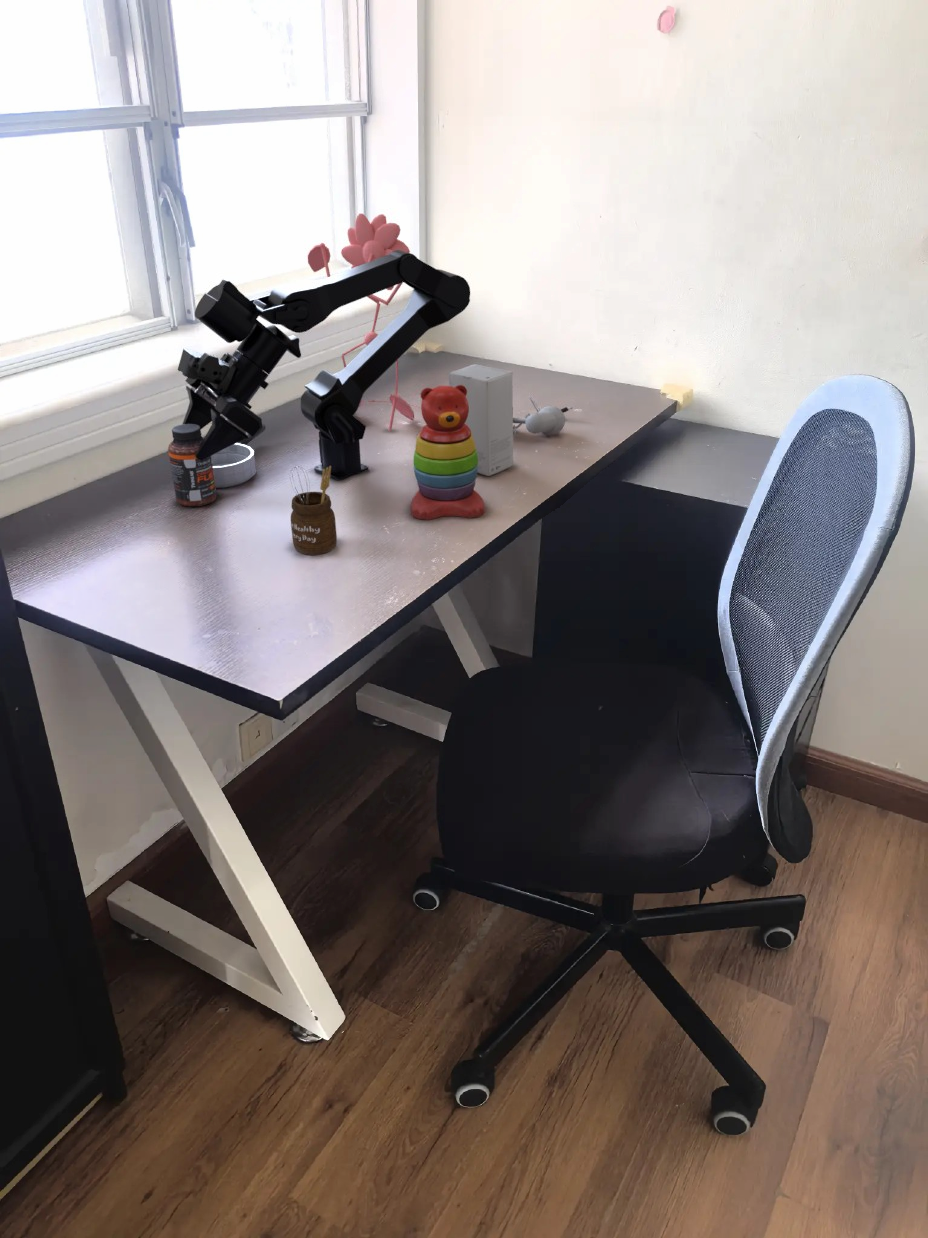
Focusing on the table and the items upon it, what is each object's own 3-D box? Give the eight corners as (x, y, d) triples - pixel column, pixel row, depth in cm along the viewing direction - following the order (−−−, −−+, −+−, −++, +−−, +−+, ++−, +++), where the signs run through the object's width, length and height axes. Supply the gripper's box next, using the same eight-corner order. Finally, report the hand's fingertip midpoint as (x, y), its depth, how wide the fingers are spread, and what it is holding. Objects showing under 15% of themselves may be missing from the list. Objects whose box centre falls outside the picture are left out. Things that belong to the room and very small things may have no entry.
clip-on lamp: (523, 428, 175) (482, 436, 159) (524, 394, 173) (482, 398, 158) (582, 431, 170) (545, 440, 154) (583, 396, 168) (546, 401, 152)
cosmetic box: (514, 467, 150) (516, 371, 142) (486, 478, 146) (487, 380, 138) (475, 454, 155) (476, 361, 147) (448, 465, 151) (447, 370, 143)
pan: (270, 475, 147) (267, 454, 145) (210, 494, 140) (207, 473, 139) (231, 457, 154) (228, 437, 152) (172, 475, 147) (168, 455, 145)
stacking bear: (411, 521, 132) (407, 399, 123) (408, 493, 141) (404, 377, 132) (486, 517, 133) (487, 396, 124) (478, 490, 142) (479, 375, 133)
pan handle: (238, 453, 150) (236, 443, 149) (229, 452, 150) (227, 443, 150) (267, 430, 160) (266, 421, 159) (259, 429, 160) (258, 420, 159)
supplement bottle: (207, 509, 136) (195, 435, 130) (169, 506, 137) (156, 433, 131) (224, 494, 141) (213, 422, 135) (187, 491, 142) (175, 419, 136)
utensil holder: (311, 533, 129) (303, 451, 123) (348, 543, 126) (341, 460, 120) (284, 549, 124) (274, 465, 118) (321, 560, 122) (313, 475, 115)
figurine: (430, 439, 161) (425, 223, 143) (304, 419, 170) (285, 214, 153) (466, 413, 173) (465, 211, 155) (347, 396, 182) (334, 203, 165)
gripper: (189, 314, 135) (127, 399, 136) (228, 342, 121) (158, 437, 122) (248, 360, 143) (188, 441, 144) (291, 391, 129) (225, 481, 130)
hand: (189, 448), depth 135 cm, fingers open, 9 cm apart
